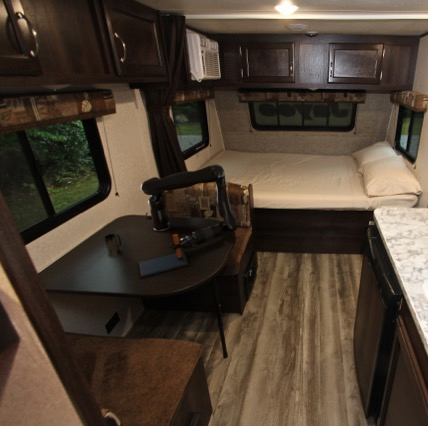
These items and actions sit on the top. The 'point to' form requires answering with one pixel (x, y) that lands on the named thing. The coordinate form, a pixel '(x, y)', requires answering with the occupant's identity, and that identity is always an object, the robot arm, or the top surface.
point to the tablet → (162, 264)
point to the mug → (113, 244)
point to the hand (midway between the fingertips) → (171, 247)
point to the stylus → (176, 241)
